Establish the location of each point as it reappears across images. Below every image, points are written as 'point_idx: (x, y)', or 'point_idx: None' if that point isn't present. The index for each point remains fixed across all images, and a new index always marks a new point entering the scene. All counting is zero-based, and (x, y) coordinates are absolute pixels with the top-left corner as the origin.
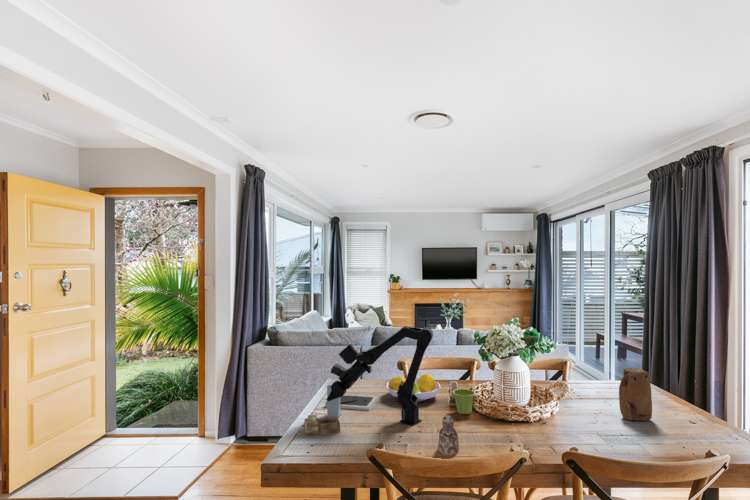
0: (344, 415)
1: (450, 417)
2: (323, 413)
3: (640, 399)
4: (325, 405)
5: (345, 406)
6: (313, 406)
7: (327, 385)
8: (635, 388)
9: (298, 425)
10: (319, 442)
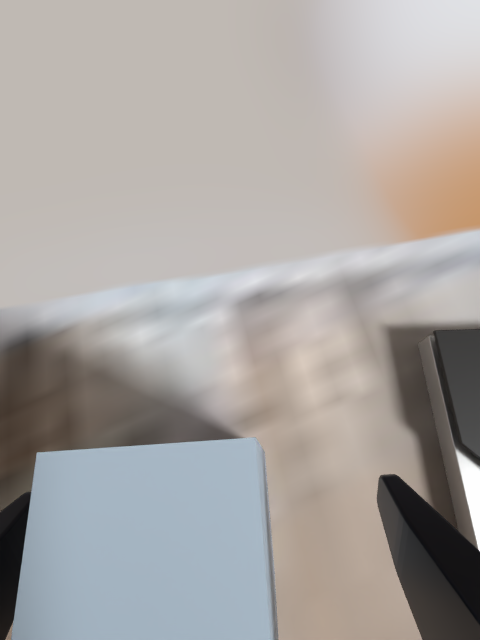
0: (282, 620)
1: None
2: (277, 386)
3: None
4: (424, 339)
5: None
6: (396, 249)
7: (36, 466)
8: None
9: (20, 311)
10: None
